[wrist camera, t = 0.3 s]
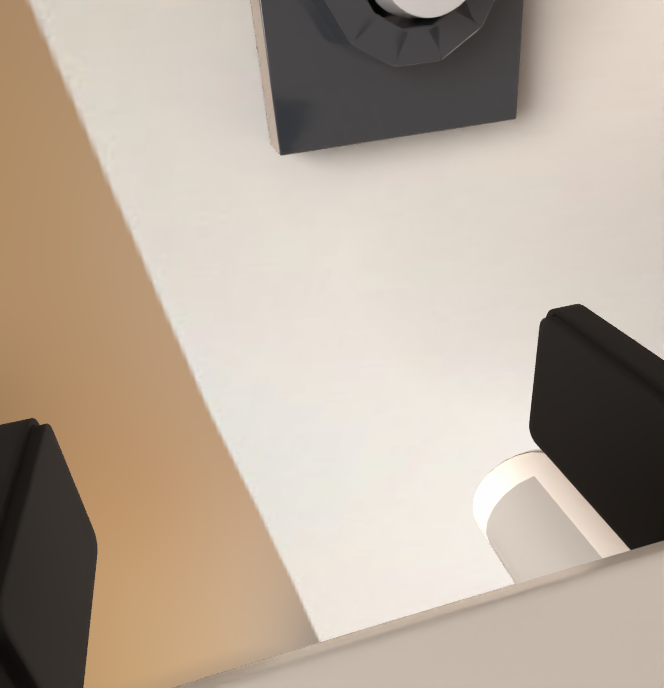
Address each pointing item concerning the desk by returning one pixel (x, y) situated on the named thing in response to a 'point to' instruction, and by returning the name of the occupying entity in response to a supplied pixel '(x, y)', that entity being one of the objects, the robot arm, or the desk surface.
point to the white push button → (419, 7)
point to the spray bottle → (539, 519)
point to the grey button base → (383, 70)
